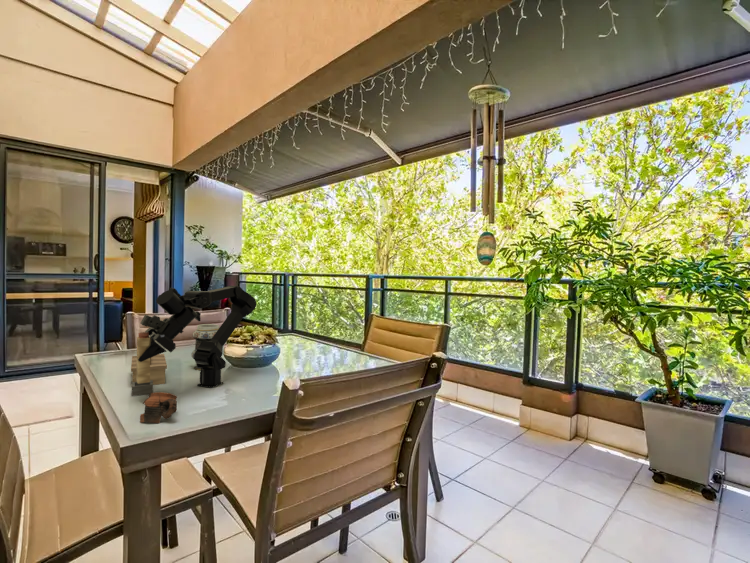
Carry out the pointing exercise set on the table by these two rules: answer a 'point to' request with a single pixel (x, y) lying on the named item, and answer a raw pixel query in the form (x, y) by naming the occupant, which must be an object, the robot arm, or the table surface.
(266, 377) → the table surface
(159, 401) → the brown black chunky piece
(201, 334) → the apothecary jar
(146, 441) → the table surface
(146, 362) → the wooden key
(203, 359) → the robot arm
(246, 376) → the table surface
